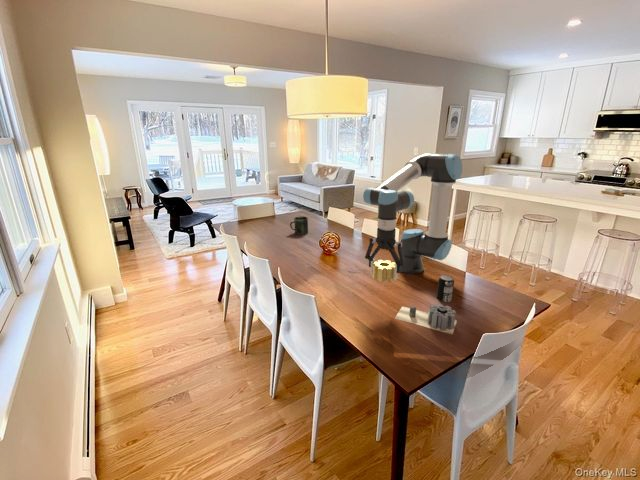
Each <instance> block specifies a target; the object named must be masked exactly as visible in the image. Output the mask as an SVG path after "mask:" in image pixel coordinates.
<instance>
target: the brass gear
mask: <svg viewBox="0 0 640 480" xmlns="http://www.w3.org/2000/svg"><path fill="white" fill-rule="evenodd" d="M395 266H396V263H395V261H394V262H391V260H388V259H386V260H383V259H378V260H377V261H375V262H373V273H372V275H371V276H372V279H373V280H377V282H380V283H383V282H386V283H391V282H392V281H395V280H394V271H395Z"/></svg>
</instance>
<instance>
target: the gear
mask: <svg viewBox="0 0 640 480" xmlns="http://www.w3.org/2000/svg"><path fill="white" fill-rule="evenodd" d="M427 313H428V324H431V327H433V328H434V329H436V328H440V330H441V331H446V329H449V330H451V329H453V326H454V322H455V320H456V314H457V313H456V310H455V309H452V307H451V306H449V305H443V304H441V303H437V304H436V305H434V304H432V305H430V306H429V308H428V312H427ZM434 329H433V330H434ZM441 331H440V332H441Z"/></svg>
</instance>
